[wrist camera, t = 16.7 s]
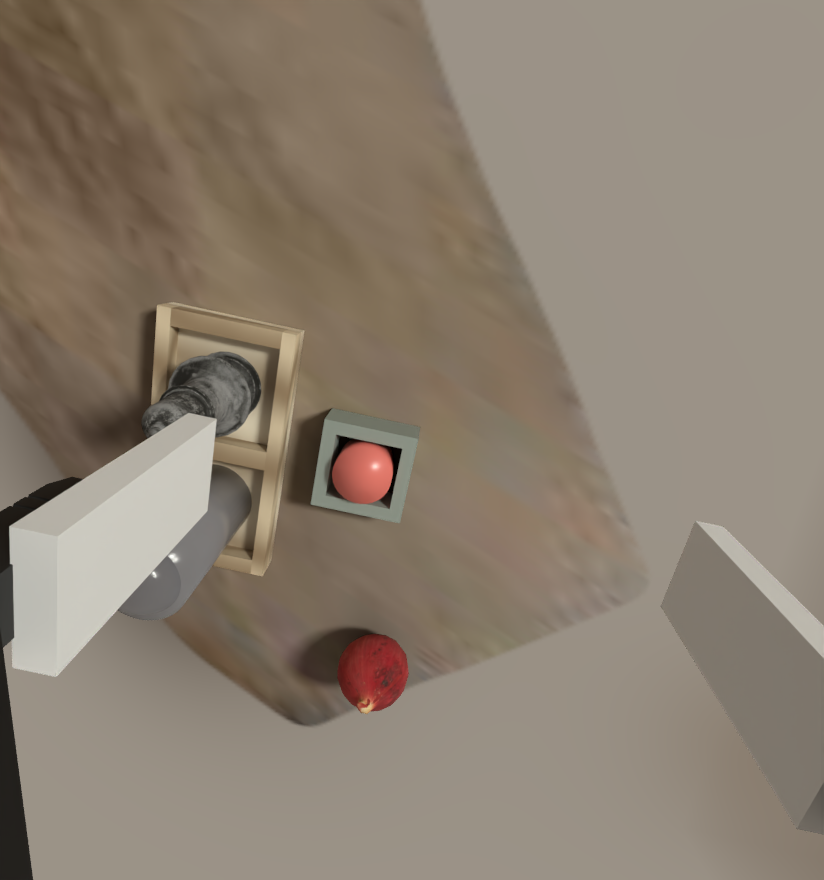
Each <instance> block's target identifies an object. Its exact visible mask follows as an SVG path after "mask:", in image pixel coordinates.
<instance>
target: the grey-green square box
mask: <svg viewBox="0 0 824 880" xmlns="http://www.w3.org/2000/svg"><path fill="white" fill-rule="evenodd" d="M419 432H420V427H417V426H413V425H408V424H403V423H399V422H394V421H389V420H385V419H380V418H375V417H371V416H366V415H361V414H357V413H352V412H347V411H343V410H338V409H333V408H332V409H331V411H330V412H329V414H328V415H327V416H326V418H325V420H324V426H323V432H322V438H321V444H320V450H319V456H318V463H317V469H316V475H315V481H314V487H313V493H312V499H311V505H315V506H320V507H325V508H329V509H334V510H339V511H344V512H348V513H353V514H358V515H363V516H367V517H372V518H377V519H382V520H386V521H391V522H396V523H400V520H401V516H402V511H403V507H404V502H405V498H406V493H407V489H408V484H409V480H410V475H411V471H412V466H413V461H414V457H415V452H416V448H417V443H418V439H419ZM340 436H345V437H350V438H354V439H359V440H364V441H368V442H373V443H378V444H382V445H387V446H392V447H396V448H401V449H402V453H401V458H400V462H399V467H398V472H397V476H396V481H395V486H394V490H393V493H389V492H387V493H386V494H385V495H384V496H383V497H382V498H381V499H379V500H377V501H375V502H373V503H369V504H358V503H354V502H351V501H349V500H347V499H345V498H344V497H343V496H342V495H340V493H339V492H338V491H337V489H336V488H335V486H334V483H333V479H332V470H333V466H334V464H335V462H336V458H337V453H338V447H339V441H340Z"/></svg>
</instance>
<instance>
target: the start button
mask: <svg viewBox="0 0 824 880" xmlns="http://www.w3.org/2000/svg"><path fill="white" fill-rule="evenodd" d="M394 467H395V459H394V455H393V453H392V451H391V449H390V448H389V446H387V445H382V444H378V443H373V442H368V441H364V440H359V439H352V440H350V441H349V442H347V443H346V444H345V446H344V447H343V449H342V450H341V452H340V454H339V456H338V458H337V460H336V462H335V464H334V466H333V470H332V479H333V483H334V486H335V488H336V489H337V491H338V492H339V493H340V495H342V496H343V497H344V498H345V499H347V500H349V501H351V502H354V503H358V504H369V503H373V502H375V501H377V500H379V499H381V498H382V497H383V496H384V495H385V494H386V493H387V491H388V490H389V487H390V485H391V481H392V476H393V472H394Z"/></svg>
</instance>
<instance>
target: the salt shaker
mask: <svg viewBox="0 0 824 880" xmlns="http://www.w3.org/2000/svg"><path fill="white" fill-rule="evenodd" d="M260 397H261V381H260V378H259V375H258V373H257V372H256V370H255V368H254V367H253V366H252V365H251V364H250V363H249V362H248V361H247V360H246V359H245V358H243V357H241V356H240V355H238V354H235V353H231V352H216V353H211V354H209V355H208V356H197V357H193V358H190V359H188V360H186V361H184V362H183V363H181V364H180V365H179V366H178V367H177V368H176V369H175V370H174V372H173V374H172V376H171V378H170V380H169V386H168V390H166V391H165V392H164V393H163V394H162V396H161V398H160V400H159V402H157V403H155V404H153V405H151V406H150V407H149V408H148V409H147V410H146V411H145V412H144V414H143V417H142V422H141V423H142V429H143V431H144V434H145V435H146V437H147V438H150V437H151V436H153V435H154V434H156V433H158V432H159V431H161V430H162V429H164V428H165V427H167V426H169V425H170V424H172V423H173V422H175V421H177V420H178V419H180V418H181V417H183V416H184V415H186V414H188V413H191V414H196V415H201V416H205V417H210V418H215V419H217V422H216V432H215V437H222V436H226V435H229V434H231V433H233V432H235V431H237V430H238V429H239V428H240V427H241V426H242V425H243V424H244V423H245V421H246V419H247V417H248V415H249V414H250V413H251V412H252V411H253V410H254V409H255V408H256V406H257V404H258V402H259V401H260Z"/></svg>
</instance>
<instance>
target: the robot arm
mask: <svg viewBox="0 0 824 880" xmlns="http://www.w3.org/2000/svg"><path fill="white" fill-rule="evenodd" d="M216 422H217V419H215V418H210V417H205V416H201V415H196V414H191V413H188V414H186V415H184V416H183V417H181V418H180V419H178V420H177V421H175V422H173V423H172V424H170V425H169V426H167V427H165V428H164V429H162V430H161V431H159V432H158V433H156V434H154V435H153V436H151V437H150V438H148V439H146V440H145V441H143V442H142V443H140V444H139V445H137V446H135V447H134V448H132V449H131V450H129V451H128V452H126V453H124V454H123V455H121V456H120V457H118V458H116V459H115V460H113V461H112V462H110V463H109V464H107V465H105V466H104V467H102V468H101V469H99V470H98V471H96V472H94V473H93V474H91V475H90V476H88V477H86V478H85V479H80V478H75V477H70V478H67V479H63V480H60V481H56V482H53V483H49V484H47V485H45V486H43V487H41V488H40V489H38V490H36V491H35V492H33V493H31V494H29V496H28V497H24V498H23V499H21V500H19V501H18V502H16V503H14V505H13V507H12V506H9V507H7V508H6V509H4V510H2V511H1V512H0V880H33V876H32V868H31V861H30V854H29V845H28V837H27V831H26V822H25V815H24V807H23V799H22V793H21V792H22V791H21V784H20V776H19V769H18V762H17V754H16V745H15V738H14V730H13V723H12V715H11V707H10V700H9V692H8V685H7V677H6V669H5V662H4V654H3V647H4V646H5V645H7V644H8V643H9V642H10V641H11V640H12V668H16V669H21V670H26V671H31V672H35V673H40V674H45V675H50V676H55V677H57V675H58V674H59V673H60V672H61V671H62V670H63V669H64V668H65V667H66V665H68V664H69V662H70V661H71V660H72V659H73V658H74V657H75V656H76V655H77V653H78V652H79V651H80V650H81V649H82V648H83V647H84V646H85V645H86V644H87V643H88V641H89V640H90V639H91V638H92V637H93V636H94V635H95V634H96V633H97V632H98V631H99V629H100V628H101V627H102V626H103V625H104V624H105V623H106V622H107V621H108V620H109V618H110V617H111V616H112V615H113V614H114V613H115V612H116V611H117V610H118V609H119V608H120V606H121V605H122V604H123V603H124V602H125V601H126V600H127V599H128V598H129V597H130V595H131V594H132V593H133V592H134V591H135V590H136V589H137V588H138V587H139V586H140V584H141V583H142V582H143V581H144V580H145V579H146V578H147V577H148V576H149V575H150V573H151V572H152V571H153V570H154V569H155V568H156V567H157V566H158V565H159V564H160V562H161V561H162V560H163V559H164V558H165V557H166V556H167V555H168V554H169V553H170V551H171V550H172V549H173V548H174V547H175V546H176V545H177V544H178V543H179V542H180V541H181V539H182V538H183V537H184V536H185V535H186V534H187V533H188V532H189V531H190V530H191V528H192V527H193V526H194V525H195V524H196V523H197V522H198V521H199V520H200V519H201V517H202V516H203V515H204V514H205V513H206V512H207V511H208V501H209V491H210V481H211V471H212V461H213V451H214V441H215V432H216ZM661 608H662V609H663V611H664V613H665V614H666V616H667V617H668V619H669V621H670V622H671V624H672V626H673V627H674V629H675V631H676V632H677V634H678V635H679V637H680V639H681V640H682V642H683V643H684V645H685V647H686V649H687V650H688V652H689V653H690V655H691V657H692V658H693V660H694V662H695V663H696V665H697V666H698V668H699V670H700V671H701V673H702V675H703V676H704V678H705V680H706V681H707V683H708V684H709V686H710V688H711V689H712V691H713V693H714V694H715V696H716V698H717V699H718V701H719V703H720V704H721V706H722V707H723V709H724V711H725V712H726V714H727V716H728V717H729V719H730V720H731V722H732V724H733V725H734V727H735V729H736V730H737V732H738V734H739V735H740V737H741V739H742V740H743V742H744V743H745V745H746V747H747V748H748V750H749V751H750V753H751V755H752V757H753V758H754V760H755V762H756V763H757V765H758V766H759V768H760V770H761V771H762V773H763V774H764V776H765V778H766V780H767V781H768V783H769V784H770V786H771V788H772V789H773V791H774V793H775V794H776V796H777V797H778V799H779V801H780V802H781V804H782V806H783V807H784V809H785V811H786V812H787V814H788V816H789V817H790V819H791V820H792V822H793V824H794V825H795V827H796V829H800V830H804V831H810V832H814V833H819V834H824V626H823V625H822V624H821V623H820V622H819V621H818V620H817V619H816V618H815V617H814V616H813V615H812V614H811V613H810V612H809V611H808V610H807V609H806V608H805V607H804V606H803V605H802V604H801V603H800V602H799V601H798V600H797V599H796V598H795V597H794V596H793V595H792V594H791V593H789V591H788V590H787V589H786V588H785V587H784V586H782V585H781V584H780V582H778V581H777V580H776V579H775V578H774V577H773V576H772V575H771V574H770V573H769V572H768V571H767V570H766V569H765V568H764V567H763V566H762V565H761V564H760V563H759V562H758V561H757V560H756V559H755V558H754V557H753V556H752V555H751V554H750V553H749V552H748V551H747V550H746V549H745V548H744V547H743V546H742V545H741V544H740V543H739V542H738V541H737V540H736V539H735V538H734V537H733V536H732V535H731V534H730V533H729V532H728V531H726V529H725V528H724V527H722V526H717V525H713V524H708V523H703V522H699V521H695V523H694V526H693V528H692V530H691V533H690V535H689V538H688V540H687V543H686V545H685V548H684V550H683V553H682V555H681V558H680V560H679V563H678V565H677V568H676V570H675V572H674V575H673V578H672V580H671V582H670V585H669V587H668V590H667V592H666V594H665V597H664V599H663V602H662V604H661Z"/></svg>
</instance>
